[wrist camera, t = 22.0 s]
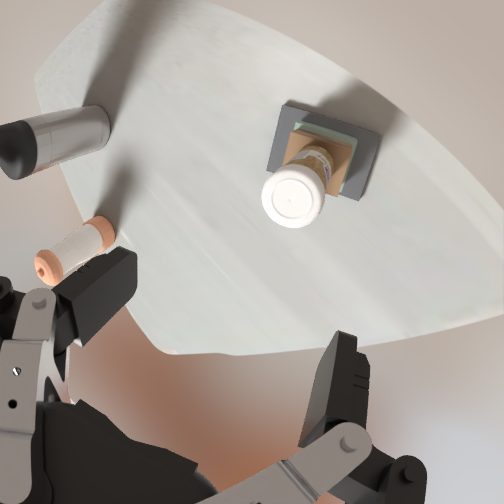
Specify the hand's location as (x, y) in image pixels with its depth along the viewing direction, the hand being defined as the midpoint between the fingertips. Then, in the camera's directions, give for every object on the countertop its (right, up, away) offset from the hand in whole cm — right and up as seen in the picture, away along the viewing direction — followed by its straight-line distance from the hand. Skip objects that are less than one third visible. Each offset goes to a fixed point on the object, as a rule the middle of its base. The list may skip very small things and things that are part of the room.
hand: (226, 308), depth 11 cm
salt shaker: (-31, +7, +51) cm, 60 cm away
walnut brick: (+9, +14, +26) cm, 31 cm away
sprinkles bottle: (+8, +12, +22) cm, 26 cm away
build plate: (+11, +16, +30) cm, 36 cm away
